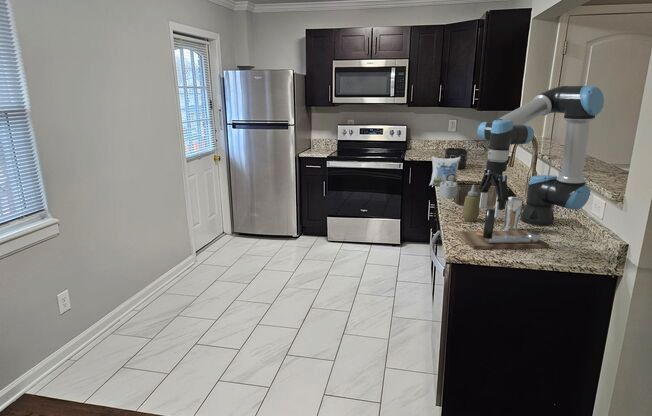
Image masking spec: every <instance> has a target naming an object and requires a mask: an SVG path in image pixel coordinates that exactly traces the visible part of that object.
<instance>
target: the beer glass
mask: <svg viewBox="0 0 652 416" xmlns="http://www.w3.org/2000/svg"><path fill="white" fill-rule="evenodd" d="M523 201H524V200H523V198H521V197H516V196H508V201H505V204H504V207H505V208H504V218H505V219H504V224H503V231H513V230H519V229H518V223H519V220H520V216H521V213H522V211H523V210H522V208H523Z"/></svg>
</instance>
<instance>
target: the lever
mask: <svg viewBox="0 0 652 416" xmlns="http://www.w3.org/2000/svg"><path fill="white" fill-rule="evenodd" d="M485 209H486V210H485V218H484V224H483V225H484V226H483V230H484V232H483V238H486V239H485V241H486V242H488V243H527V242H531V243H539V242H540V239H541V236H542V235H541V234H540V233H537V232H532V231H531V232H529V231H528V232H529V233H527V235H524V236H492V235H493V231H494V226H495V219H496V218H495V210H496V208H492V207H486V208H485Z"/></svg>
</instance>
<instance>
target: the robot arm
mask: <svg viewBox="0 0 652 416" xmlns="http://www.w3.org/2000/svg"><path fill="white" fill-rule="evenodd" d="M604 102H605V97H604V93H603V91H602V89H600V87H597V86H595V85H593V86H592V85H560V86H556V87H554V88H553V87H552V88H550V89H548V90H546V91H543V92H542V93H541V92H540V93H539V94H538V95H535V96H534V97H533V98H532V100H531V101H529V102H527V103H525V104H523V105H522V106H520V107H518V108H516V109H514V110H511V111H510V112H508V113H506V114H505V115H503V116H501V117H499V118H497V119H495V120H493V121H483V122H482V123H480V124H479V125H478V127H477V131H476V132H477V136H478V138H479V139H481V140H483V141H484V140H485V141H487V142H488V141H489V146H488V151H487V159H488V160H486V166H485V169H484V173H483V176H482V179H481V181H480V184H479V187H478V190H479V191H480V197H479V198H480V204H479V209H487V206H488V205H487V204H488V198H489V197H488V196H489V190H490V188H491V187H492V185H493V187H494V188H495V192H496V197H497V199H496V204H495V209H496V210H495V219H496V218H498V219H499V218H501V219H502V218H503V213H504V209H505V208H504V207H505V203H506V201H508V197H509V190H508V183H507V181H508V175H503V173H504V172H506V171H507V170H508V169H507V168H508V160H509V154H510V147H511V145H522V146H523V145H527V144H529V143H531V142H532V141H533V139H534V136H535V131H534V129H533V128H532V126H530V125H527V123H529V122H531V121H533V120H535V119H537V118H539V117H541V116H547V115H549V114H556V113H557V114H559V113H560V114H564V115H563V119H564V120H565V122H566V123H567V124H566V131H565V136H564V138H565V139H564V145H563V153H562V155H563V156H562V163H561V171H560V175H559V176H557V175H553V174H552V175H550V174H537V175H533V176H531V177H530V178H529V183H528V189H527V195H526V196H527V197H526V203H525V206H524V208H523V210H521V214H520V217H519V220H520V221H521V222H523V223H525V224H528V225H529V224H530V225H533V226H542V227H543V226H545V227H546V226H552V225H554V223H555V215H554V210H553V206H557V207H562V208H564V209H567V210H573V211H576V210H577V211H578V210H580V209H582V208H583V207H584V206H585V205H586V204H587V203H588V201H589V199H590V197H589V196H591V193H590V192H591V188H590V187H589V186H588V185H586V184H585V179H584V178H585V177H584V176H583V175H584V168H585V163H586V154H587V149H588V148H587V146H588V140H589V134H590V133H589V132H590V127H591V123H592V121H594V120H595V119H596V116H597V115H599V114H600V113H601V112H602V109H604V104H605V103H604Z"/></svg>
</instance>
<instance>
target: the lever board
mask: <svg viewBox="0 0 652 416" xmlns="http://www.w3.org/2000/svg"><path fill="white" fill-rule="evenodd" d="M483 232H484V229H478V230H461V231H460V230H459V231H458V230H457V231H456V236H458V237H459V238H460V239H461V240H462V241H464V243H466V244H467V245H468V246H469V247H470V248H472V249H473V250H508V249H509V250H513V249H514V250H517V249H518V248H520V249H549V248H550V244H549V243H547V242H546V241H544V240H542V239H541V238H540V242H539V243H531V242H527V243H488V242H486V241H485V239H486V238H483ZM527 233H529V231H527V230H524V229H523V230H522V229H521V230H519V229H518V230H513V231H506V230H493V235H492V236H524V235H527Z"/></svg>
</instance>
